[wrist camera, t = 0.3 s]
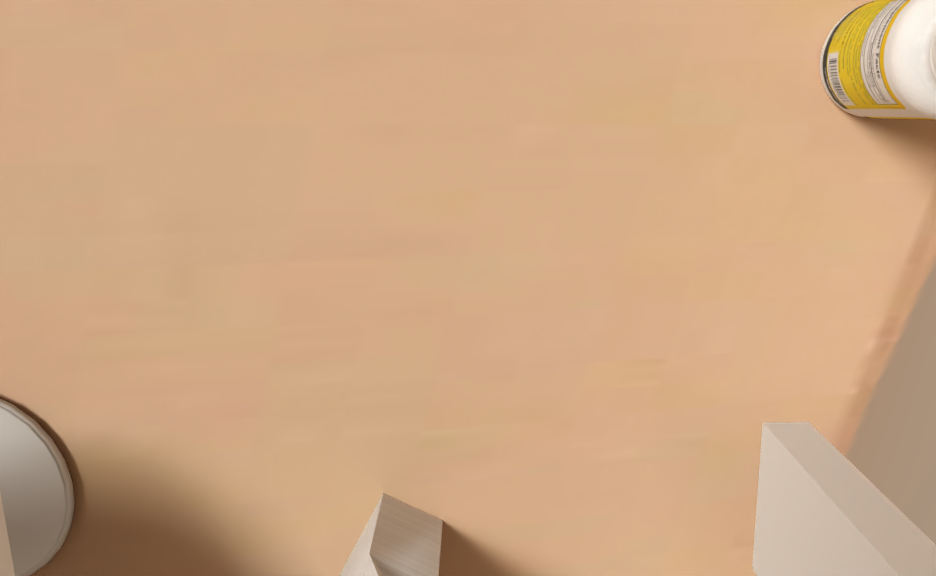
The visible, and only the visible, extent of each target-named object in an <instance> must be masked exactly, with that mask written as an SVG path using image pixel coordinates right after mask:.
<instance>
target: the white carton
mask: <svg viewBox="0 0 936 576" xmlns="http://www.w3.org/2000/svg"><path fill="white" fill-rule="evenodd" d="M442 525H443V520H440V519H438V518H436V517H434V516H432V515H430V514H427V513H425V512H423V511H421V510H419V509H417V508H415V507H412V506H410V505H408V504H406V503H404V502H402V501H399V500H397V499H395V498H393V497H391V496H389V495H387V494H384V493H383V495H382V497H381V498H380V500H379V502H378V504H377V506H376V508H375V510H374V511H373V513H372V515H371V517H370V519H369V521H368V523H367V525H366V526H365V528H364V530H363V532H362V534H361V536H360V538H359V540H358V541H357V543H356V545H355V547H354V549H353V551H352V553H351V554H350V556H349V558H348V560H347V562H346V564H345V566H344V568H343V569H342V571H341V573H340V575H339V576H439V563H440V550H441V538H442Z"/></svg>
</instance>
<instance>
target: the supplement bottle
mask: <svg viewBox="0 0 936 576" xmlns="http://www.w3.org/2000/svg"><path fill="white" fill-rule="evenodd" d="M820 77H821V81H822V84H823V87H824V89H825V91H826V93H827V95H828V96H829V98H830V99H831V100H832V101H833V102H834V103H835V104H836V105H837V106H838V107H840V108H841V109H842V110H844V111H846V112H848V113H850V114H853V115H856V116H860V117H866V118H885V119H926V120H936V0H875V1H872V2H869V3H866V4H864V5H861V6H859V7H857V8H855V9H853V10H852V11H850V12H849V13H847V14H846V15H845V16H844V17H842V18H841V19H840V20H839V21H838V22H837V23H836V25H835V26H834V27H833V28H832V30H831V31H830V33H829V34H828V36H827V38H826V40H825V43H824V45H823V48H822V51H821V56H820Z"/></svg>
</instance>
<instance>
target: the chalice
mask: <svg viewBox="0 0 936 576" xmlns="http://www.w3.org/2000/svg"><path fill="white" fill-rule="evenodd" d="M0 493H1V499H2V505H3V510H4V516H5V522H6V527H7V533H8V539H9V544H10V550H11V556H12V561H13V567H14V573H15V576H30V575H32V574H33V573H35V572H36V571H37V570H39V569H40V568H42V567H43V566H44V565H46V564H47V563H48V562H50V560H51V559H52V558H53V557H54V555H55V554H56V553H57V552H58V551H59V549H60V548H61V547H62V546H63V544H64V541H65V539H66V537H67V535H68V532H69V530H70V528H71V524H72V518H73V512H74V506H75V503H74V493H73V483H72V480H71V477H70V474H69V471H68V468H67V465H66V462H65V459H64V458H63V456H62V455H61V453H60V451H59V450H58V448H57V446H56V445H55V443H54V441H53V440H52V438H51V437H50V436H49V435H48V434H47V433H46V432H45V431H44V430H43V429H42V428H41V426H40V425H39V424H38V423H37V422H36V421H35V420H34V419H33V418H31V417H30V416H28V415H27V414H26V413H24V412H23V411H21V410H20V409H19V408H17V407H16V406H14V405H13V404H11V403H9V402H7V401H5V400H2V399H0Z"/></svg>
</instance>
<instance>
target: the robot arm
mask: <svg viewBox="0 0 936 576" xmlns="http://www.w3.org/2000/svg"><path fill="white" fill-rule="evenodd" d="M752 568H753V570H754V572H755V574H756V575H757V576H936V545H935V544H934V543H933V542H932V541H931V540H930V539H929V538H928V537H927V536H926V535H925V534H924V533H923V532H922V531H921V530H920V529H919V528H918V527H917V526H916V525H915V524H914V523H913V522H912V521H911V520H910V519H909V518H907V517H906V516H905V515H904V514H903V513H902V512H901V511H900V510H899V509H898V508H897V507H896V506H895V505H894V504H893V503H892V502H891V501H890V500H889V499H888V498H887V497H886V496H885V495H884V494H883V493H882V492H881V491H879V489H878V488H876V487H875V486H874V485H873V484H872V483H871V482H870V481H869V480H868V479H867V478H866V477H865V476H864V475H863V474H862V473H861V472H860V471H859V470H858V469H857V468H856V467H855V466H854V465H853V464H852V463H851V462H850V461H849V460H848V459H846V458H845V457H844V456H843V455H842V454H841V453H840V452H839V451H838V450H837V449H836V448H835V447H834V446H833V445H832V444H831V443H830V442H829V441H828V440H827V439H826V438H825V437H824V436H823V435H822V434H821V433H820V432H819V431H818V430H817V429H815V428H814V427H813V426H812V425H811V424H810V423H809V422H768V423H763V427H762V441H761V455H760V469H759V483H758V497H757V510H756V524H755V538H754V552H753V566H752ZM0 576H15V573H14V567H13V561H12V556H11V550H10V544H9V539H8V533H7V527H6V522H5V516H4V510H3V505H2V499H1V493H0Z"/></svg>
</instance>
